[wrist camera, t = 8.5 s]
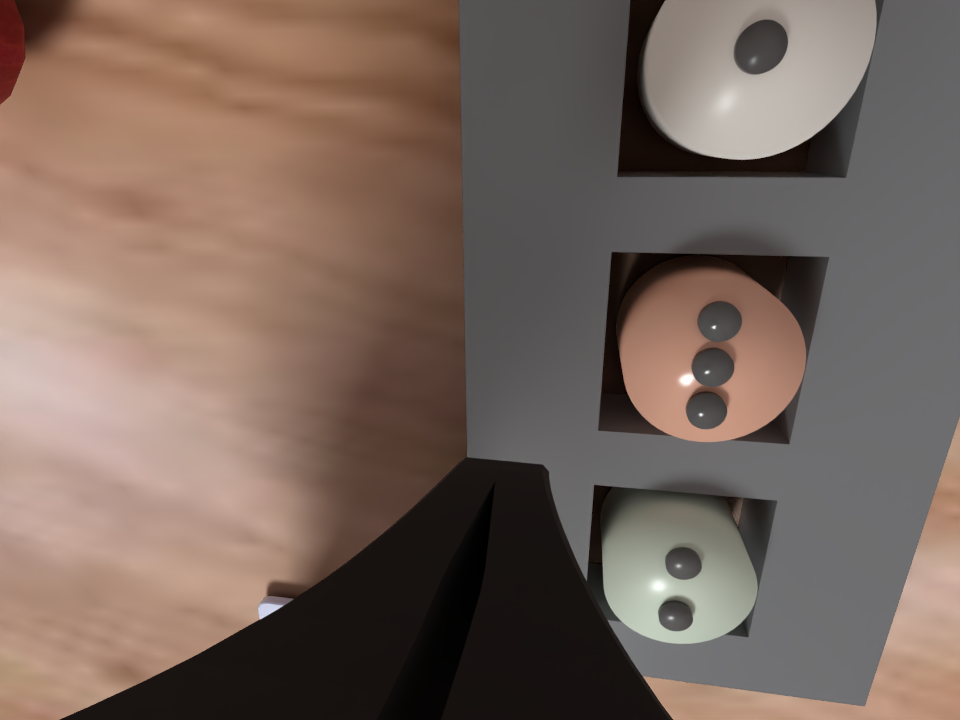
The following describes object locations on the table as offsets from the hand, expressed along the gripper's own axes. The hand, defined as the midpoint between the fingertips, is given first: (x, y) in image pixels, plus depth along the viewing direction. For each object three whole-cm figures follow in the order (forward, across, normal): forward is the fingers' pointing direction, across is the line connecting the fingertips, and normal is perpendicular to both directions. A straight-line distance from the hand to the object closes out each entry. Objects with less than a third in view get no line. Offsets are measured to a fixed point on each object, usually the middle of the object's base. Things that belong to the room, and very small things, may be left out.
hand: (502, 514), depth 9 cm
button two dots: (+8, -4, +6) cm, 11 cm away
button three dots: (+8, -4, -1) cm, 9 cm away
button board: (+9, -4, -1) cm, 10 cm away
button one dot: (+8, -4, -7) cm, 12 cm away
